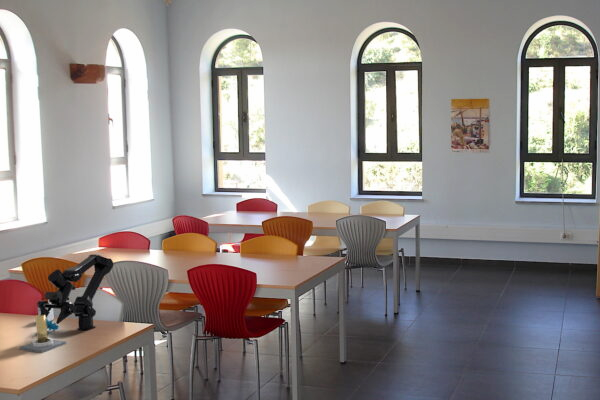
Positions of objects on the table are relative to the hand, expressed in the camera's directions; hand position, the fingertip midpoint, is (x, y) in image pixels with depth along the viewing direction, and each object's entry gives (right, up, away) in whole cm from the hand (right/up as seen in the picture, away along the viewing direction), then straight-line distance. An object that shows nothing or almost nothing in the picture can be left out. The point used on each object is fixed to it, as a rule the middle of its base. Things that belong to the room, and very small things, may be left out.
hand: (48, 323), depth 350 cm
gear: (-7, -8, +21) cm, 24 cm away
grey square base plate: (-1, -10, -3) cm, 11 cm away
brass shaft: (-1, -9, -4) cm, 10 cm away
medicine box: (-15, -6, +43) cm, 45 cm away
